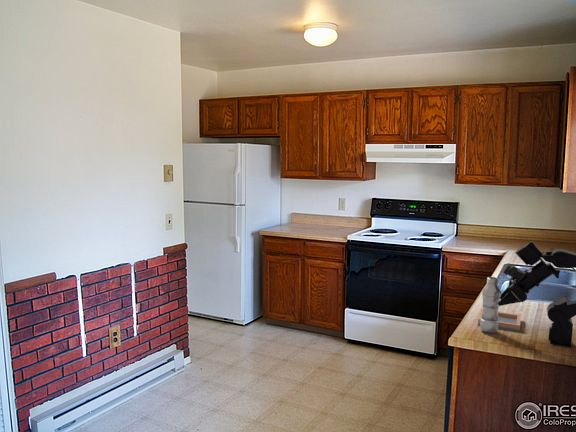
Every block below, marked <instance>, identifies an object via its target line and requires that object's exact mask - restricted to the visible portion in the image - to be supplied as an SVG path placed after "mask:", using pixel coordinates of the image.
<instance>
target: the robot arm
mask: <svg viewBox="0 0 576 432" xmlns="http://www.w3.org/2000/svg"><path fill="white" fill-rule="evenodd" d="M514 253H515V254H516V256H517V257H518V258H519V259H520V260H521V261H522V262H523V263H524V264H525V265H526V266H528V265H529V266H530V267H531V266H532V267H531V268H529V269H524V270H522V269H520V268H518V267H517V266H515V265H513V264H510V263H507V264H506V266H505V268H504V269H503V272H502V273H503V274H505V275H508V276H510V279H509V282H508V286H507V287H506V288H505V289H504V290H503V291H502V292H501V297H500V301H499V302H498V305H499V307H501V306H506V305H510V304H511V305H512V304H518V303H524V302H525V301H527V300H528V299H527V298H528V294H529V293H530V292H531V290H533V289H534V288H536V287H537V288H538V287H539V286H540V284H541V283H543V282H544V281H545V280H547V279H548V278H550V277H551V276H554V277H555V278H556V279H560V273H561V269H575V268H576V252H573V251H571V250H567V249H565V248H556V249H554V250H552V251H541V250H540V249H539V248H538V247H537V245H536V244H535V242H534V241H532V240H531V241H530V242H528V243H526V244H525V245H524V244H523V245H522V246H521V247H519V248H518V249H517V250H516V251H515V252H514ZM555 267H556V268H555ZM557 268H559V269H557ZM546 313H547V317H548V319H549V320H550V322H551V325H550V326H549V329H548V337H547V338H548V341H549V343H550V344H551V345H555V346H560V347H561V346H562V347H567V348H572V347H573V344H572V341H573V330H574V329H573V328H574V327H573V326H574V324H573V320H572V319H573V317H576V300H567V299H566V297H561V298H559V299H556V300H555V299H554V300H552V302H550V303H549V304H547V307H546Z"/></svg>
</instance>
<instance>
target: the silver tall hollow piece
mask: <svg viewBox="0 0 576 432" xmlns="http://www.w3.org/2000/svg"><path fill="white" fill-rule="evenodd" d="M498 280H499V278H498V277H496V276H495V277H494V276H487V278H486V283H487V284H486V285H485V286H484V287H483V288H482V290H481V291H482V292H481V294H482V309H483V310H482V316H481V320H480V325H479V328H480V330H481V331H482V332H484V333H491V334H493V333H494V334H495V333H497V332H498V331H499V322H498V312H499V307H500V306H499V305H498V302H499V301H500V300H501V299H500V297H501V294H502V290H501V289H500V287H499V285H498V284H499V281H498Z"/></svg>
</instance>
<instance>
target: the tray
mask: <svg viewBox="0 0 576 432" xmlns="http://www.w3.org/2000/svg"><path fill="white" fill-rule="evenodd" d="M482 310H483V308H482V309H480V312H479V315H478V319H477V326H480V320H481V316H482ZM498 322H499V328H498V330H499V329H500V330H506V331H514V332H520V331H521V314H518V313H510V312H505V311H498Z"/></svg>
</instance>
